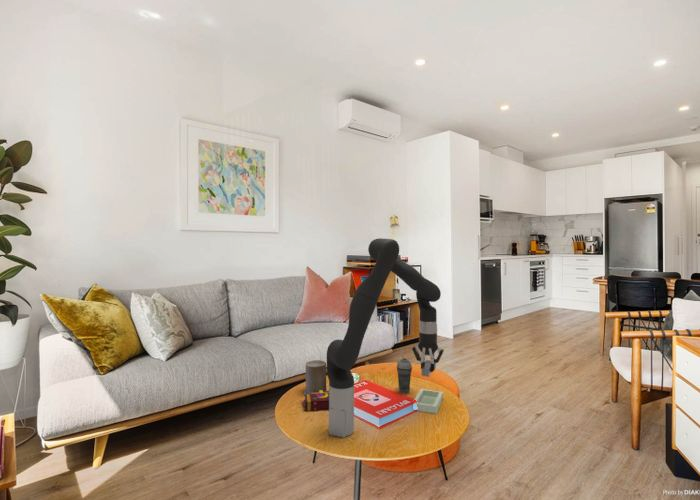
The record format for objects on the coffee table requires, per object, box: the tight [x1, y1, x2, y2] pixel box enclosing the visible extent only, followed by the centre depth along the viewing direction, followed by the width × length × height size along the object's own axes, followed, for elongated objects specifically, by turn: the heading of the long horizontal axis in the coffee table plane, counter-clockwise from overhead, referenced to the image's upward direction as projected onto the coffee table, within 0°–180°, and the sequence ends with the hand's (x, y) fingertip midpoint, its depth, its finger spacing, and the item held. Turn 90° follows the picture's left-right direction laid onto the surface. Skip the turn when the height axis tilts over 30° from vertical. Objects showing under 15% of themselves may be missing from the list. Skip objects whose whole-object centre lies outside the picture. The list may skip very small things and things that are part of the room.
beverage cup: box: [396, 348, 413, 395], centre depth 182 cm, size 7×7×20 cm
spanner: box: [421, 359, 437, 377], centre depth 168 cm, size 13×4×3 cm, turn 158°
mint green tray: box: [413, 388, 444, 415], centre depth 168 cm, size 17×10×3 cm, turn 158°
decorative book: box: [301, 390, 329, 412], centre depth 167 cm, size 11×16×5 cm
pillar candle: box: [305, 359, 327, 392], centre depth 181 cm, size 10×10×15 cm
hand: (427, 371), depth 167 cm, fingers closed on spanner, 3 cm apart
